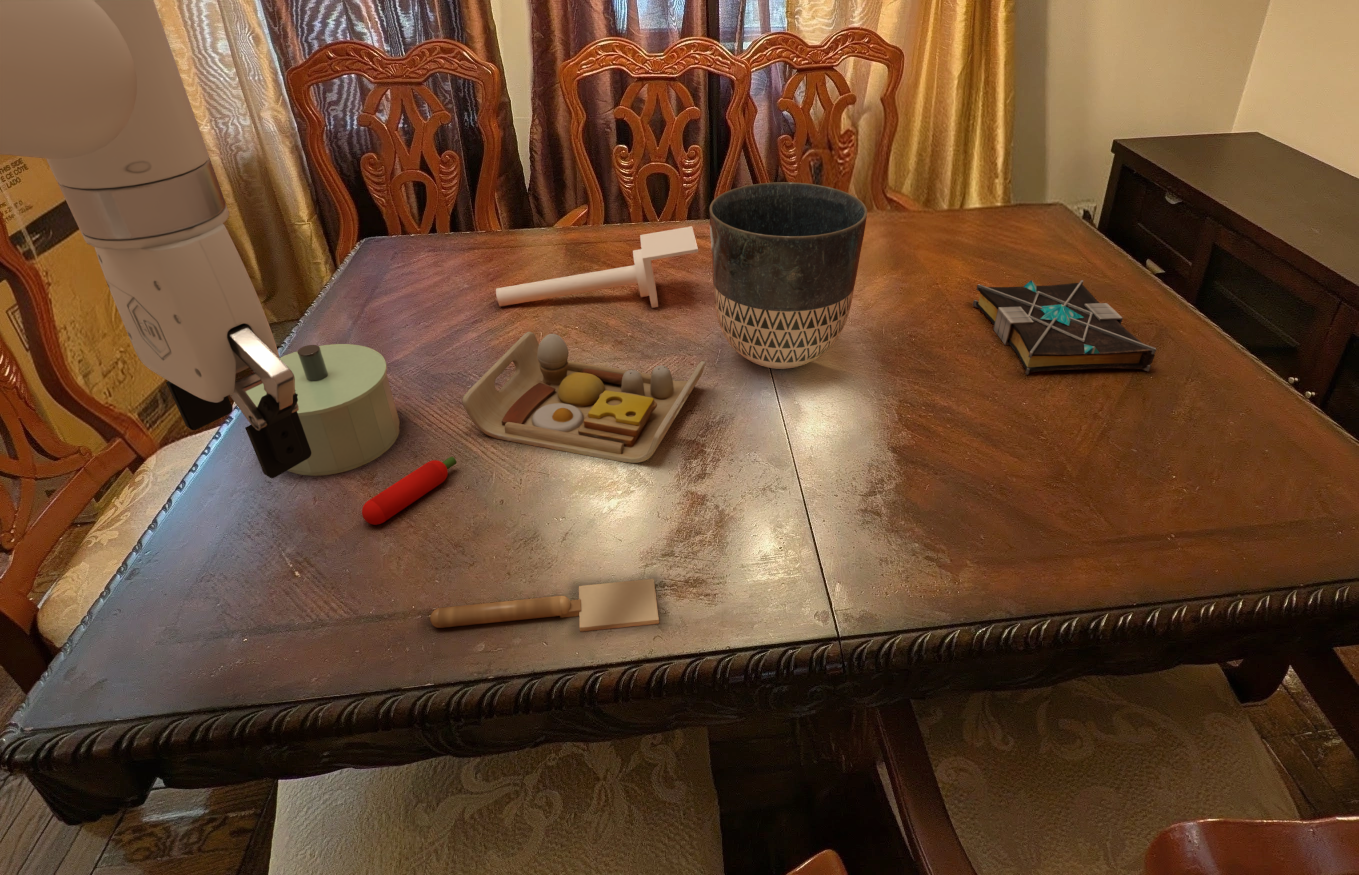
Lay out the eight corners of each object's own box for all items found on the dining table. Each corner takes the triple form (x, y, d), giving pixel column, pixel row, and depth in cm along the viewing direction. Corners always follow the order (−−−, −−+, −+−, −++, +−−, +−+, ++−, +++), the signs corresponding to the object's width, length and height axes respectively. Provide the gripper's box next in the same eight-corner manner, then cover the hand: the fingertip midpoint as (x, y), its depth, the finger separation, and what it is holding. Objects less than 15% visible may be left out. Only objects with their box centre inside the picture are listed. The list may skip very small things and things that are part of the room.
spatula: (428, 647, 72) (424, 634, 70) (436, 604, 76) (432, 591, 75) (659, 623, 73) (658, 610, 72) (653, 582, 77) (653, 569, 76)
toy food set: (467, 434, 98) (456, 381, 94) (534, 362, 112) (526, 313, 108) (662, 470, 92) (659, 415, 87) (707, 389, 106) (707, 338, 101)
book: (1150, 372, 107) (1162, 339, 104) (1025, 377, 106) (1033, 344, 104) (1077, 300, 124) (1086, 270, 122) (970, 304, 124) (976, 274, 121)
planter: (686, 376, 108) (684, 223, 96) (738, 315, 123) (742, 175, 110) (826, 407, 102) (843, 246, 89) (864, 338, 116) (883, 192, 103)
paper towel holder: (697, 248, 119) (487, 284, 120) (705, 301, 125) (503, 335, 125) (692, 226, 127) (494, 259, 127) (699, 276, 132) (508, 308, 133)
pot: (322, 491, 90) (299, 429, 85) (249, 448, 97) (224, 389, 92) (424, 429, 99) (409, 370, 94) (351, 394, 106) (334, 337, 101)
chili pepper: (358, 503, 83) (354, 514, 85) (376, 523, 83) (371, 533, 85) (448, 445, 91) (442, 456, 93) (465, 463, 91) (458, 474, 93)
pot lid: (300, 437, 85) (286, 401, 82) (221, 394, 92) (207, 359, 89) (415, 374, 95) (407, 340, 92) (336, 340, 102) (326, 307, 100)
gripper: (12, 192, 48) (133, 428, 58) (159, 255, 39) (270, 518, 49) (141, 160, 52) (231, 382, 62) (296, 209, 44) (371, 457, 54)
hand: (248, 442), depth 56 cm, fingers open, 9 cm apart
